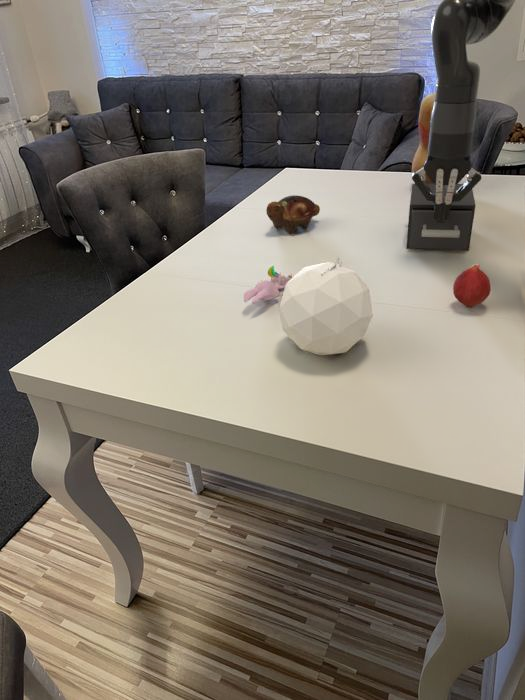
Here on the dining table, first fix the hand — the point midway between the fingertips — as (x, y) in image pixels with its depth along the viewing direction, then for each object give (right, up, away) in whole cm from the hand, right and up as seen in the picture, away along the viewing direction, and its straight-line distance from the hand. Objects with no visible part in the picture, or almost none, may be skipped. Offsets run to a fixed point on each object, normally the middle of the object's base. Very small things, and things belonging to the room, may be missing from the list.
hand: (440, 221), depth 105 cm
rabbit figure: (-34, -16, -6) cm, 38 cm away
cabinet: (+4, 0, +13) cm, 14 cm away
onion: (0, -18, -14) cm, 23 cm away
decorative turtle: (-27, +4, +24) cm, 37 cm away
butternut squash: (+12, +18, +40) cm, 46 cm away
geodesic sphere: (-25, -25, -21) cm, 41 cm away
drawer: (+2, -2, +9) cm, 9 cm away
